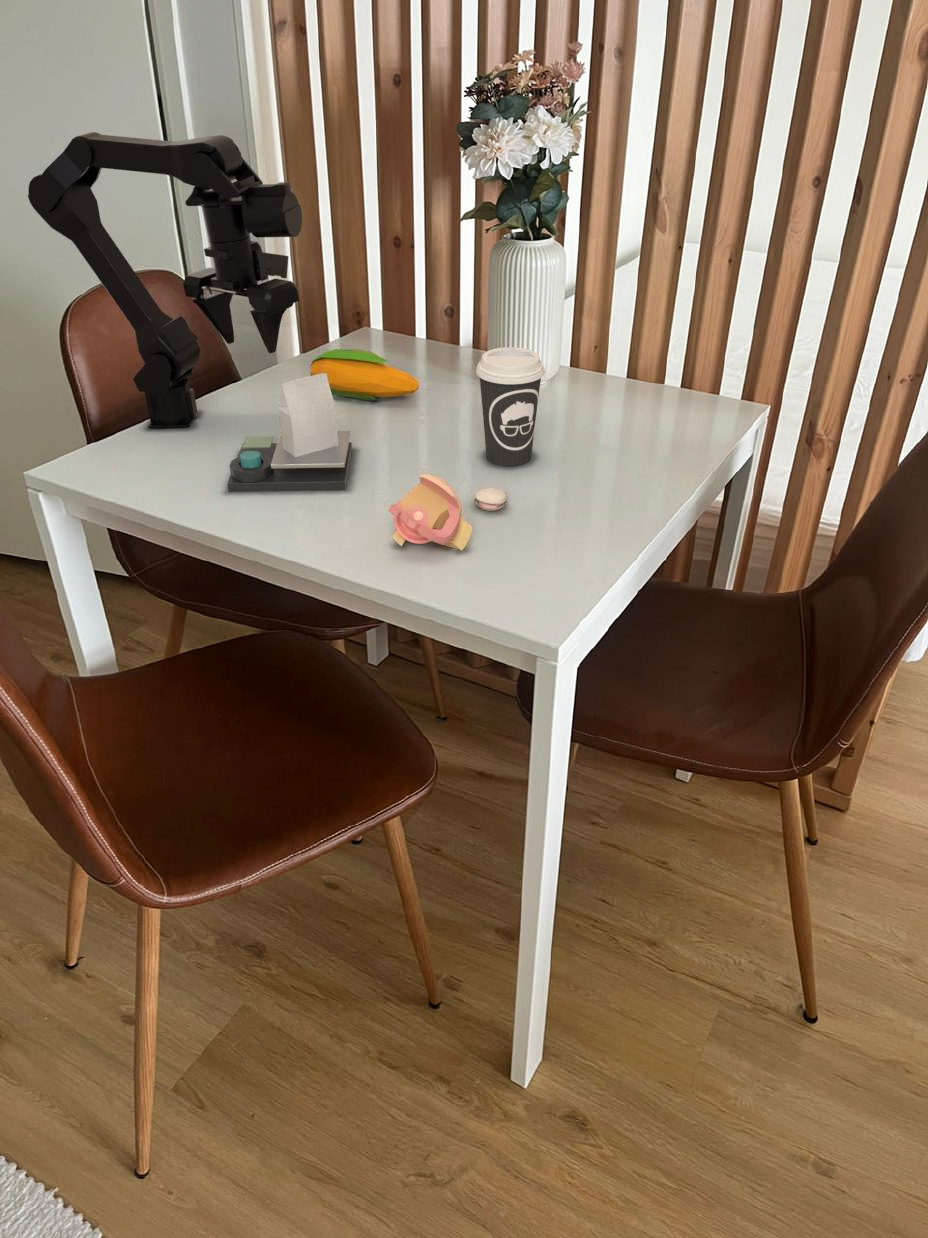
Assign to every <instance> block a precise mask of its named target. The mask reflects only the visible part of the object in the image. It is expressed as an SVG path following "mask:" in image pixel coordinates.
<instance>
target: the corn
mask: <svg viewBox="0 0 928 1238" xmlns="http://www.w3.org/2000/svg"><path fill="white" fill-rule="evenodd" d="M376 355H377V354H376ZM376 355H373V354H368V353H363V352H357V351H351V350H349V349H348V350H347V349H342V348H341V349H338V348H335V349H331V350H328V351H325V352H323V353H321V354H319V355H318V356H315V358H314V359H313V360H312V361H311V364H310V372H309V374H310V376H313V375H317V374H321V373H327V378H328V382H329V386H330V390H331V393H332V394H336V395H339V396H344V397H349V398H355V399H359V400H360V399H361V400H366V401H379V400H378V399H377V398H376V397H380V398H394V397H400V396H406V395H412V394H414V393H415V392H417V391H418V390H419V387H420V382H419V381H418V379H416V378H415V377H414V376H412V375H411V374H410V373H408V372H405V371H403V370H400V369H398V368H395V367H393V366H390V365H388V364H385V363H387V361H388V360H387V359H385V358H383V357H381V356H379V355H378V356H376Z"/></svg>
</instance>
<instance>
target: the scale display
mask: <svg viewBox="0 0 928 1238" xmlns="http://www.w3.org/2000/svg"><path fill="white" fill-rule="evenodd" d="M274 439H275V436H274V435H261V436H260V435H259V436H257V435H256V436H255V435H254V436H253V435H252V436H250V435H249V436H245V438H244V440H243V443H242V444H243V446H242V445H241V447H242V448H271V445H272V443H274V442H273V441H274Z"/></svg>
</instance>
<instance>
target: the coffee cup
mask: <svg viewBox="0 0 928 1238" xmlns="http://www.w3.org/2000/svg"><path fill="white" fill-rule="evenodd" d="M475 374H476V376H477V377H478V378H479V384H480V385H479V386H480V397H481V408H482V420H483V432H484V444H485V455H486V460H487V461H488V462H489V463H491V464H493V465H496V466H500V467H519V466H523V465H525V464H527V463H528V462H530V461H531V459H532V453H533V452H532V451H533V444H534V438H535V437H534V436H535V430H536V429H535V428H536V421H537V413H538V403H539V397H540V390H541V389H540V388H541V383H542V382H541V381H542V378H543V377H544V376H545V374H546V370H545V366H544V363H543V362H542V361H541V358H540V355H539V354H538V352H536V351H534V350H531V349H528V348H524V347H517V346H516V347H515V346H514V347H513V346H504V347H497V348H492V349H490V350H487V351H485V352H484V353H482V355H481V359H480V361H479V362H478V363H477V365H476V369H475Z"/></svg>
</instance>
